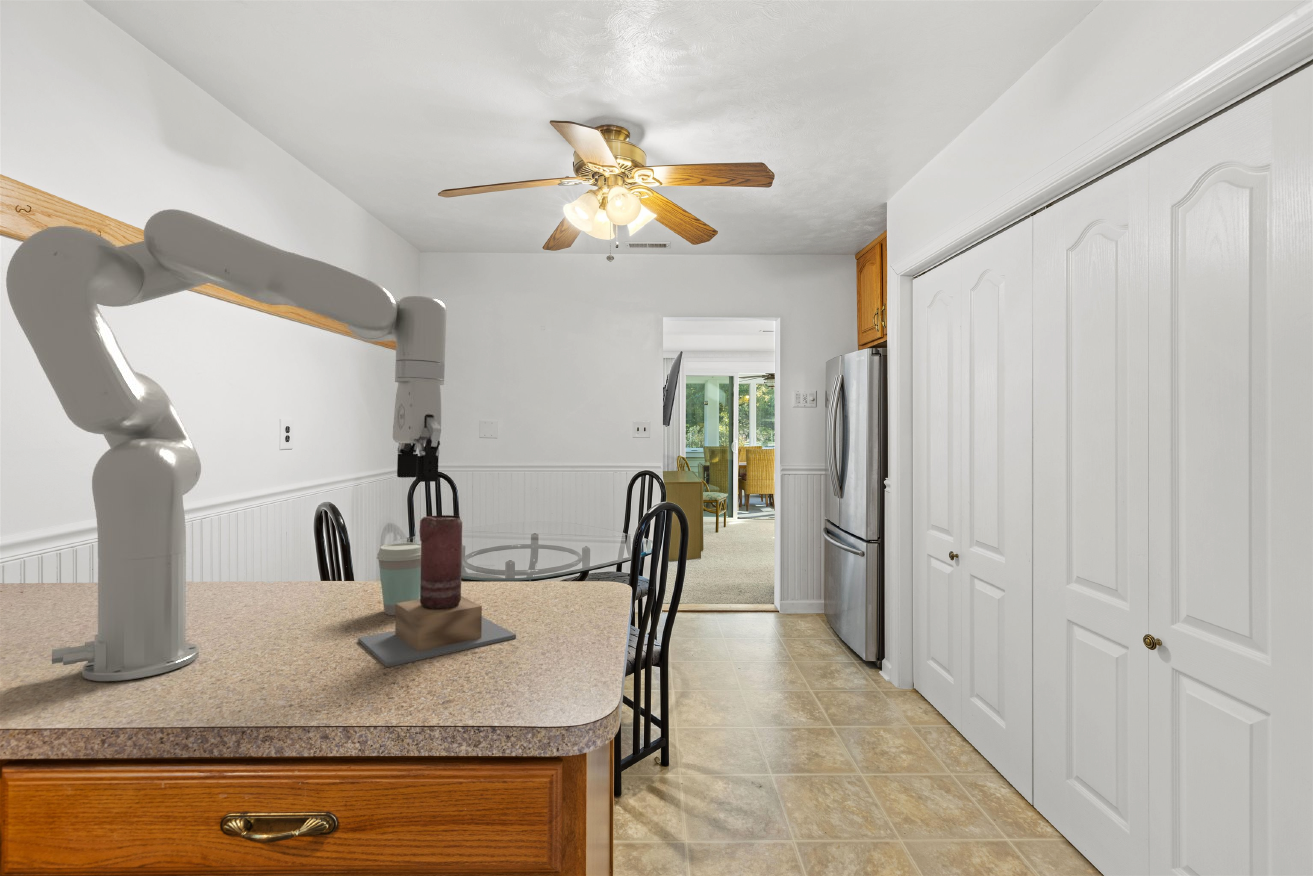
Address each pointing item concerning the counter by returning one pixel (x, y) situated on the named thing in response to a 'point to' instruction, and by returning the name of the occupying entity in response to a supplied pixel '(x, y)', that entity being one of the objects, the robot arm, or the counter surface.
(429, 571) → the can
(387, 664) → the mat
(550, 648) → the counter surface
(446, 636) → the block
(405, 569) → the coffee cup
